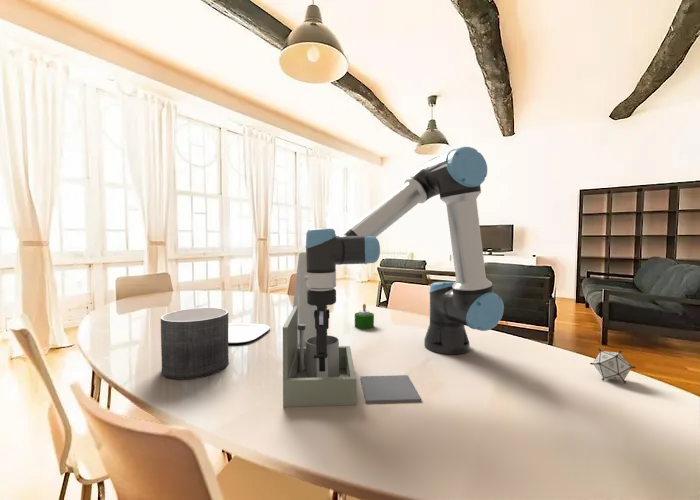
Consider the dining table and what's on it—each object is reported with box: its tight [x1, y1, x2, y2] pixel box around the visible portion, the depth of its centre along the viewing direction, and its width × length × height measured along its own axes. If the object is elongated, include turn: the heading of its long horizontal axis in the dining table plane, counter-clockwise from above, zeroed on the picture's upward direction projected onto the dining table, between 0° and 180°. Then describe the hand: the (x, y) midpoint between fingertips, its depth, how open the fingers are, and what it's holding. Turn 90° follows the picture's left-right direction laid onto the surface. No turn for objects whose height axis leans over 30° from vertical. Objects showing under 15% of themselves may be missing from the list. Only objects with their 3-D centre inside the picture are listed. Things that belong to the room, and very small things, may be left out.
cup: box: [306, 334, 340, 378], centre depth 83 cm, size 8×8×10 cm
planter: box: [160, 307, 230, 380], centre depth 94 cm, size 18×18×16 cm
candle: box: [354, 303, 375, 330], centre depth 138 cm, size 8×8×10 cm
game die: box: [589, 347, 636, 384], centre depth 86 cm, size 9×8×10 cm
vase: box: [292, 251, 317, 347], centre depth 114 cm, size 12×12×33 cm
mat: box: [359, 374, 422, 404], centre depth 80 cm, size 13×13×1 cm
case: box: [282, 306, 357, 408], centre depth 83 cm, size 16×22×18 cm
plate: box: [228, 322, 271, 345], centre depth 126 cm, size 25×25×2 cm
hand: (322, 374), depth 83 cm, fingers closed on cup, 8 cm apart
